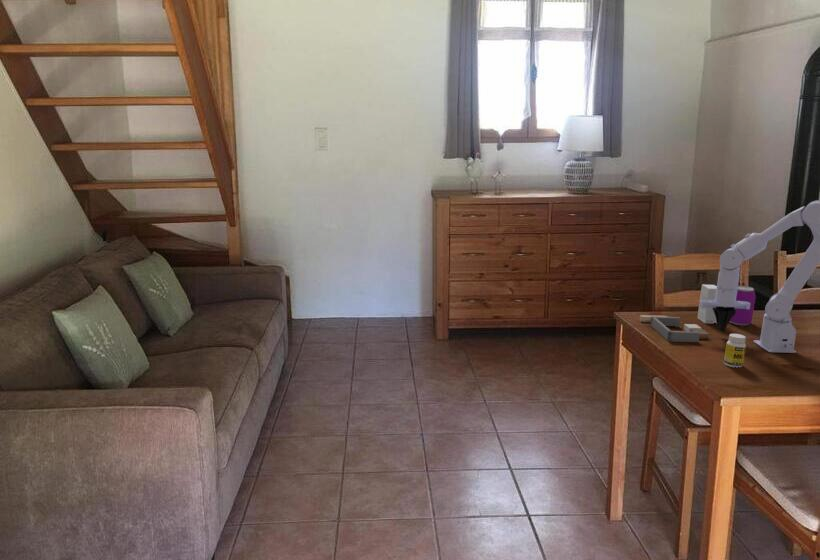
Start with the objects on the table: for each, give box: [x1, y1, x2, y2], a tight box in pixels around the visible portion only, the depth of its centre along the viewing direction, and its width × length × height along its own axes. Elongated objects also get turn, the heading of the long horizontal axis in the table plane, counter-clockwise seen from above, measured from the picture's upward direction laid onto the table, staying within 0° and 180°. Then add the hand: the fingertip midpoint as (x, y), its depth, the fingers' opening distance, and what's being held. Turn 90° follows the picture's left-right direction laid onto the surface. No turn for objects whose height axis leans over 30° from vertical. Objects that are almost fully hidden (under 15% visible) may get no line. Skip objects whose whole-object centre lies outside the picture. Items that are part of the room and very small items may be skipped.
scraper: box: [638, 314, 669, 323], centre depth 215 cm, size 7×11×2 cm, turn 89°
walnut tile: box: [691, 329, 710, 340], centre depth 200 cm, size 4×4×2 cm
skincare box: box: [697, 283, 717, 324], centre depth 215 cm, size 6×4×12 cm
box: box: [650, 316, 700, 343], centre depth 203 cm, size 16×9×3 cm, turn 179°
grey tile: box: [682, 323, 703, 332], centre depth 206 cm, size 4×4×2 cm
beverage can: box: [728, 285, 757, 327], centre depth 214 cm, size 8×8×12 cm
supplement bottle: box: [723, 333, 747, 369], centre depth 176 cm, size 5×5×8 cm
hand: (720, 330), depth 200 cm, fingers closed
